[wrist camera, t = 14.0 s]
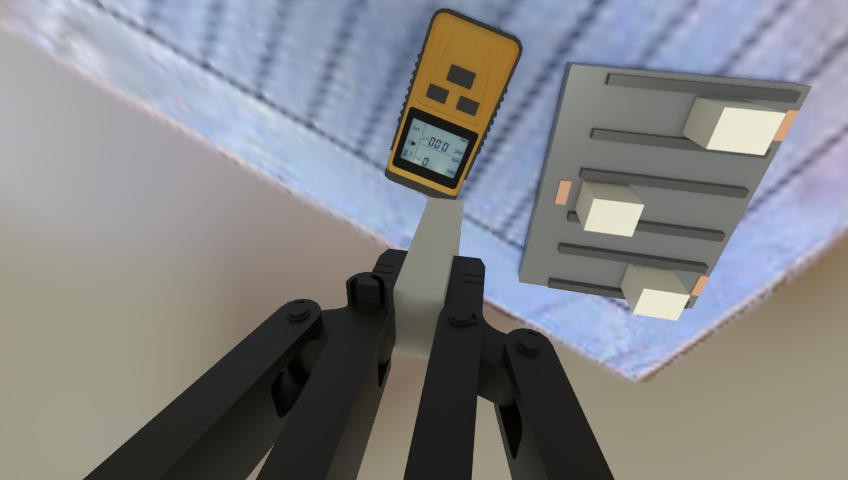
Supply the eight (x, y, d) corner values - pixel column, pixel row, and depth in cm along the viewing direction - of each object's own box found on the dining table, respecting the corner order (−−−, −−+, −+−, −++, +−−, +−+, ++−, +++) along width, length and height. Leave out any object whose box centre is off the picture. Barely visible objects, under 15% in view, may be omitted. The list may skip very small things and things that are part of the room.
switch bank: (567, 62, 33) (573, 65, 31) (794, 83, 31) (819, 88, 29) (518, 271, 44) (519, 286, 42) (684, 296, 42) (695, 313, 40)
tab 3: (696, 96, 31) (724, 107, 27) (749, 102, 31) (786, 113, 27) (681, 133, 33) (706, 148, 29) (732, 139, 32) (764, 155, 28)
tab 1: (583, 179, 36) (593, 198, 32) (628, 185, 35) (644, 205, 31) (574, 208, 37) (583, 230, 33) (617, 214, 37) (631, 236, 33)
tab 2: (629, 262, 39) (644, 288, 35) (671, 268, 39) (690, 295, 35) (619, 286, 41) (632, 313, 37) (659, 292, 40) (677, 320, 36)
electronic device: (526, 41, 34) (530, 42, 31) (459, 195, 41) (456, 208, 38) (437, 4, 33) (432, 2, 30) (386, 166, 41) (378, 177, 38)
